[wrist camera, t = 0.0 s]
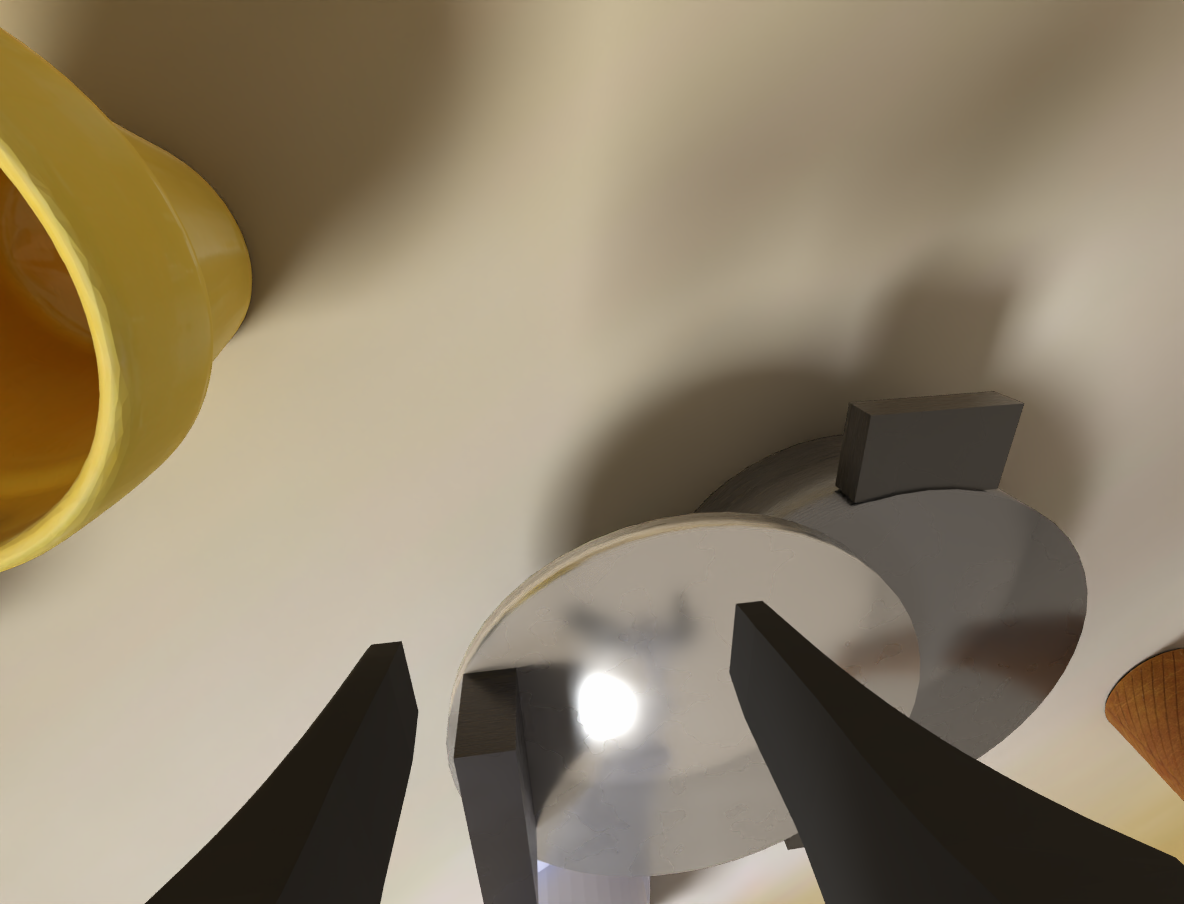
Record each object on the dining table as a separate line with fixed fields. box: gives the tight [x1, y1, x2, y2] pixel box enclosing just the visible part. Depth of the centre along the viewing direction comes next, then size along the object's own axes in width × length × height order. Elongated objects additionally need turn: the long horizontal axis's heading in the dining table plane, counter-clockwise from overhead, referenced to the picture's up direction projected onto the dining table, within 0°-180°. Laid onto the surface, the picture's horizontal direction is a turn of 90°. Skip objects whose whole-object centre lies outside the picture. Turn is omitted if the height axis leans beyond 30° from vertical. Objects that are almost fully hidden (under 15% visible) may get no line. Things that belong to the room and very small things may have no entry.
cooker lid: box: [446, 512, 920, 904], centre depth 18 cm, size 17×17×4 cm
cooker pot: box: [694, 391, 1087, 850], centre depth 23 cm, size 22×16×5 cm
